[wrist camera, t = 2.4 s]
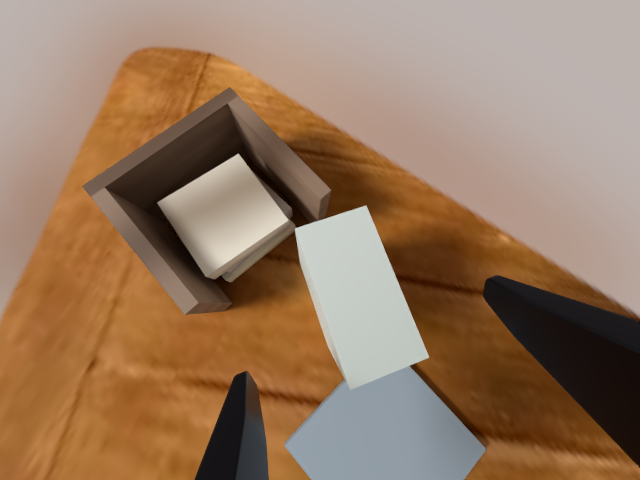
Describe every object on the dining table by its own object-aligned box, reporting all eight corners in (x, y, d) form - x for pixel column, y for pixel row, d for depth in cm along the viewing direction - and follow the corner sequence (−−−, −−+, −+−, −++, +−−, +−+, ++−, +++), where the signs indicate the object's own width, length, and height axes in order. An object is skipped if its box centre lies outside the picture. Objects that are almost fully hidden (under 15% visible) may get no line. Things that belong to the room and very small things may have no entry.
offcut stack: (301, 231, 20) (300, 210, 16) (232, 287, 19) (209, 282, 14) (252, 174, 21) (238, 140, 17) (182, 224, 20) (147, 202, 15)
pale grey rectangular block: (367, 331, 18) (429, 357, 9) (327, 346, 18) (350, 390, 9) (338, 251, 20) (366, 205, 10) (300, 264, 19) (294, 228, 10)
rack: (324, 223, 20) (331, 190, 14) (223, 311, 18) (184, 314, 12) (250, 146, 21) (229, 87, 16) (149, 221, 19) (82, 186, 14)
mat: (481, 445, 17) (486, 449, 17) (387, 569, 15) (389, 578, 15) (382, 338, 18) (384, 339, 18) (285, 441, 17) (284, 445, 16)
